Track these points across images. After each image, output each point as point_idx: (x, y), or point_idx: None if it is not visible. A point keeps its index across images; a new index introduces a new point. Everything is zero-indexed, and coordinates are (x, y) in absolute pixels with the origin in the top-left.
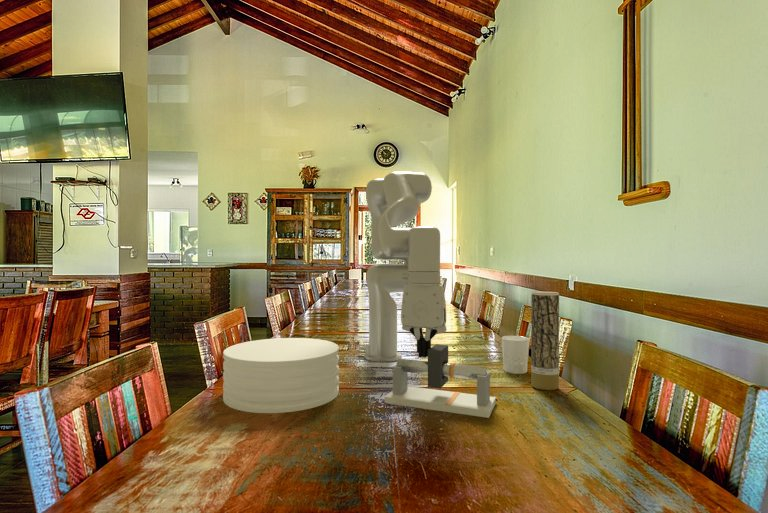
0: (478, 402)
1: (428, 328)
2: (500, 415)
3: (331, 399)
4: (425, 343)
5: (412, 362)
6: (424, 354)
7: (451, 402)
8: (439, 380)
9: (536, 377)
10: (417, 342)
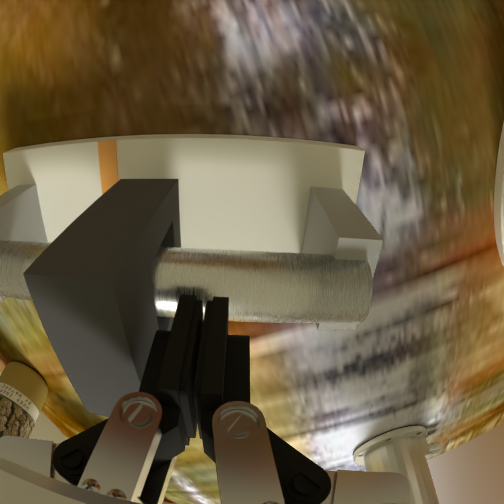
0: (26, 187)
1: (102, 493)
2: (2, 182)
3: (502, 138)
4: (163, 376)
5: (276, 283)
6: (180, 305)
7: (101, 170)
8: (110, 190)
9: (21, 383)
10: (244, 390)
